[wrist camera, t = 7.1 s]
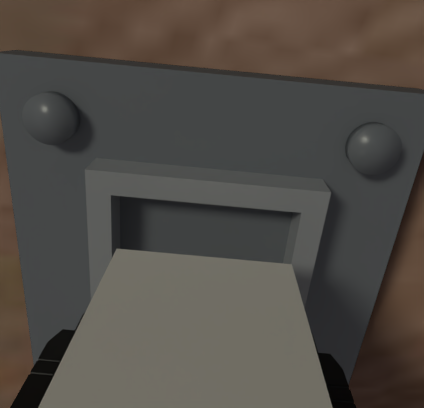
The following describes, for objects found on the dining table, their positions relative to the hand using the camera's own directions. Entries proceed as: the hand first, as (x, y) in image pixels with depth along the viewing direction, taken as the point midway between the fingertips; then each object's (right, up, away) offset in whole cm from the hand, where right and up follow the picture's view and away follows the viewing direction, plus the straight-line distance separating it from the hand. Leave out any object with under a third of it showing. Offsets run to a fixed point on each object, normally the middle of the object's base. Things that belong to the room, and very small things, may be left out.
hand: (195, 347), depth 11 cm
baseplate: (0, +2, +5) cm, 6 cm away
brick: (0, 0, +1) cm, 1 cm away
